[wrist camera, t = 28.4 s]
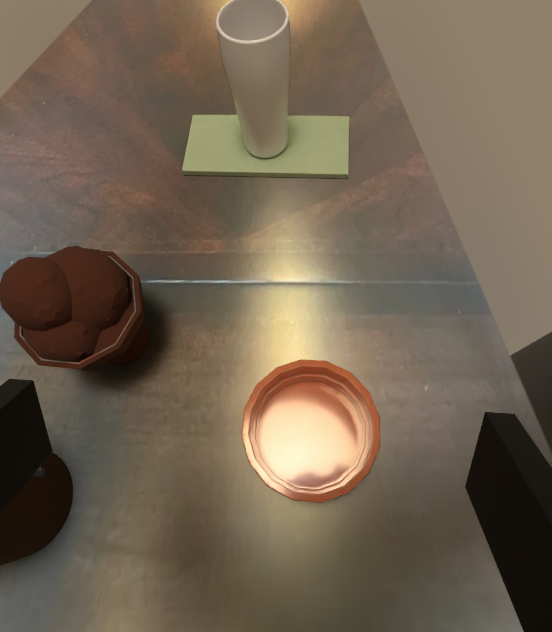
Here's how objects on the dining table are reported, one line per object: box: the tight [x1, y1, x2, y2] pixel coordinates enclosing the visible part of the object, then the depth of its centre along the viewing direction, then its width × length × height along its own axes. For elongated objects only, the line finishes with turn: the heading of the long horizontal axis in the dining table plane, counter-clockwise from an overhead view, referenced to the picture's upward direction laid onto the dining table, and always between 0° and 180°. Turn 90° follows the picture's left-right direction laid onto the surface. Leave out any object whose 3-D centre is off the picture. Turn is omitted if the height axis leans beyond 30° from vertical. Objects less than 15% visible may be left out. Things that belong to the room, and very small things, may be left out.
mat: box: [182, 115, 349, 179], centre depth 51 cm, size 20×9×1 cm, turn 85°
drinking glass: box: [216, 0, 291, 158], centre depth 44 cm, size 7×7×15 cm
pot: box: [242, 360, 380, 502], centre depth 36 cm, size 11×11×6 cm
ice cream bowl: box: [0, 246, 149, 370], centre depth 36 cm, size 11×11×15 cm
